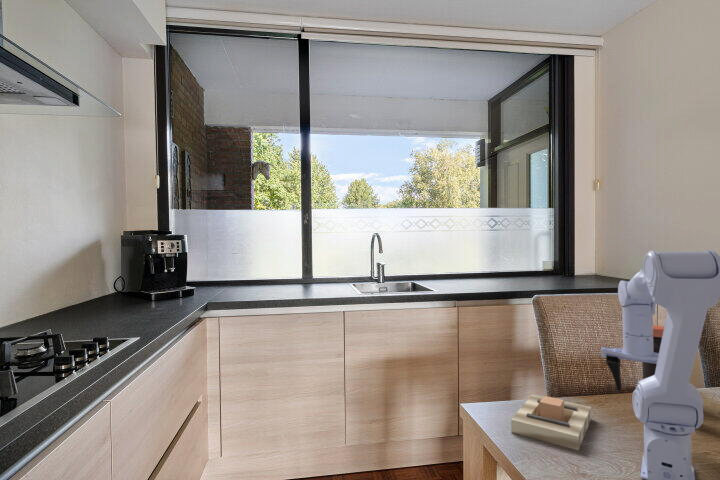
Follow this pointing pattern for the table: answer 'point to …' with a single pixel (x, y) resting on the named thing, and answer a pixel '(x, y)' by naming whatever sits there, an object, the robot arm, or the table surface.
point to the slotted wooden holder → (552, 423)
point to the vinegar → (657, 338)
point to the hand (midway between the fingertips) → (639, 392)
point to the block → (552, 408)
